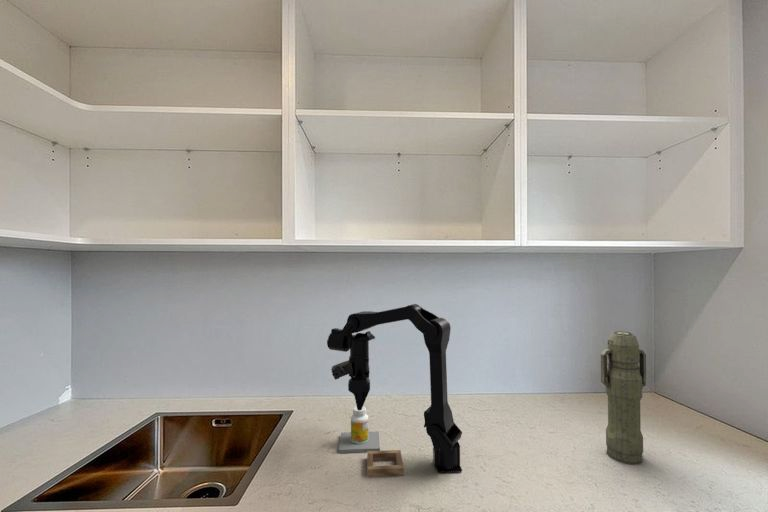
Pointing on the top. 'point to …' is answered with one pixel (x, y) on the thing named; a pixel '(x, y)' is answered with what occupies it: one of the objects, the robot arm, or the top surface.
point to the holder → (385, 470)
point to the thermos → (624, 396)
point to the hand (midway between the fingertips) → (359, 404)
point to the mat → (351, 447)
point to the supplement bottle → (359, 426)
